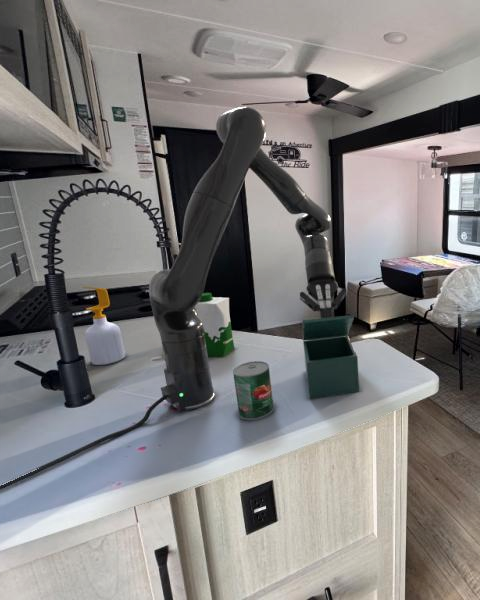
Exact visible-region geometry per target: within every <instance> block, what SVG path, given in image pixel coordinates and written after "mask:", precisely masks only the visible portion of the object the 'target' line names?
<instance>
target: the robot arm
mask: <svg viewBox="0 0 480 600" xmlns="http://www.w3.org/2000/svg"><path fill="white" fill-rule="evenodd" d="M266 127H267V126H266V122H265V120H264V118H263V116H262V114H261V113H260V112H259V111H258V110H257V109H255V108H253V107H249V106H242V107H241V106H240V107H237V108H233V109H231V110H228V111H225V112H223V113H222V114H220V115H219V116H218V118H217V120H216V123H215V129H216V134H217V136H218V138H219V140H220V142H221V143H222V144H223V145H222V148H221V149H220V152H219V154H218V156H217V158H216V159H215V161H214V162H213V163H212V164H211V165H210V167H208V169H207V170H206V172H205V173H204V174H203V175H202V177H201V178H200V180H199V181H198V182H197V184H196V186H195V188H194V190H193V192H192V194H191V197H190V199H189V201H188V203H187V206H186V209H185V213H184V217H183V225H182V226H183V227H182V238H181V244H180V248H179V251H178V253H177V256H176V257H175V260H174V262H173V264H172V266H171V268H168V269H167V268H166V269H163V270H160V271H158V272H157V273H155V274H154V275H153V276H152V277H151V279H150V280H149V281H150V282H149V284H148V294H149V300H150V306H151V310H152V314H153V319H154V323H155V326H156V329H157V331H158V333H159V336H160V341H161V346H162V352H163V357H164V362H165V368H164V369H163V373H164V378H165V379H164V380H165V384H166V385H165V386H161V387H160V391H161V397H160V398H159V399H157V400H156V401H154V403H153V404H151V406H150V407H149V408H148V409H147V411H146V412H145V414H144V416H143V418H142V419H141V420H139V421H138V422H137V423H135V424H133V425H131V426H129V427H127V428H124V429H121V430H119V431H115V432H113V433H110V434H107V435H105V436H103V437H101V438H99V439H97V440H94V441H91V442H90V443H88V444H85V445H83V446H82V447H79V448H78V449H75V450H72V451H71V452H68V453H67V454H65V455H63V456H60V457H58V458H56V459H54V460H51V461H48V462H47V463H45V464H43V465H41V466H38V467H36V468H35V469H37V470H35V471H33V472H30V473H28V474H26V475H24V476H21V475H20V476H21V477H19V478H17V479H15V480H13V481H10V482H8V483H6V484H4V485H1V486H0V491H2V490H4V489H5V488H7V487H11V486H12V485H15V484H17V483H18V482H21V481H23V480H25V479H28V478H29V477H32V476H35V475H36V474H39V473H40V472H42V471H46V470H47V469H50V468H52V467H53V466H56V465H58V464H60V463H62V462H64V461H66V460H68V459H70V458H72V457H74V456H77V455H78V454H81V453H83V452H85V451H87V450H89V449H91V448H93V447H96V446H98V445H100V444H102V443H104V442H106V441H109V440H111V439H114V438H116V437H120V436H121V435H124V434H127V433H129V432H131V431H133V430H135V429H137V428H139V427H141V426H142V425H143V424H145V423H146V422H147V421H148V419H149V417H150V415H151V413H152V412H153V411H154V409H156V408H157V407H158V406H159V405H160V404H161V403H163V402H164V401H166V402H168V403H169V404H170V406H172V407H173V408H174V409H175V410H177V411H178V412H181V413H182V412H184V411H190V410H195V409H200V408H201V407H204V406H206V405H208V404H209V403H211V402H212V401H214V399H215V392H214V386H213V381H212V373H211V368H210V361H209V356H208V354H207V348H206V342H205V335H204V329H203V324H202V322H201V320H200V319H199V317H198V314H197V312H196V309H195V306H196V305H197V304H198V302H199V300H200V299H201V296H202V293H204V291H205V287H206V282H207V278H208V275H209V273H210V272H209V271H210V269H211V264H212V261H213V258H214V256H215V254H216V251H217V249H218V247H219V244H220V242H221V240H222V237H223V235H224V232H225V230H226V228H227V225H228V223H229V220H230V218H231V216H232V213H233V212H234V211H233V210H234V208H235V205H236V202H237V200H238V197H239V194H240V193H241V189H242V187H243V184H244V182H245V178H246V177H247V173H248V171H249V169H250V170H251V171H252V172H253V173H254V174H255V175H256V177H258V178H259V179H260V180H261V181H262V182H263V183H264V185H265V186H266V187H267V188H268V189H269V190H270V192H272V194H273V195H274V196H275V198H277V200H278V201H279V202H280V204H281V205H282V206H283V208H284V209H285V210H286V211H287V212H288V213H289V214H291V215H300V214H303V215H301V216H299V217H298V218H297V219H296V221H295V224H294V225H295V226H294V227H295V230H296V232H297V235H298V236H299V238H300V240H301V243H302V245H303V251H304V265H305V274H306V281H307V286H306V290H304V291H300V292H299V300H300V301H301V302H302V303H303V304H305V305H306V306H307V307H308V308H309V309H311V310H312V311H313V312H319V315H320V318H330V317H333V312H332V311H333V310H337V309H338V308H339V306H340V305H341V303H342V301H343V300H344V298H346V295H347V288H346V287H345V288H344V287H343V288H342V287H339V285H338V282H337V281H336V277H335V271H334V265H333V259H332V256H331V252H330V247H329V241H328V239H327V237H326V236H325V235H323V233H325V232H327V231H328V230H330V228H331V226H332V221H331V217H330V215H329V213H328V212H327V211H326V209H325V210H324V209H323V207H321V206H320V205H319V204H317V203H316V202H315V201H314V200H312V199H311V198H310V197H309V196H308V195H307V194H306V193H305V191H304V190H303V189H302V187H301V186H300V184H299V183H298V182H297V181H296V180H295V178H294V177H293V176H291V174H290V173H288V172H287V170H285V169H284V168H283V167H281V166H280V165H279V164H278V163H276V162H275V161H274V160H273V159H272V158H270V156H268V155H267V154H266V152H265V151H264V150H263V149H262V148H261V147H262V145H263V143H264V141H265V138H266V133H267V132H266V131H267V129H266ZM335 295H336V297H335V298H334V296H335ZM333 298H334V300H333V301H332V299H333ZM313 299H314V300H315V301H314V300H313ZM324 301H325V302H324ZM38 468H39V469H38Z"/></svg>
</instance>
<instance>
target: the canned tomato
mask: <svg viewBox="0 0 480 600" xmlns="http://www.w3.org/2000/svg"><path fill="white" fill-rule="evenodd" d="M232 374H233V380H234V387H235V396H236V401H237V409H238V416H239V418H241V419H243V420H246V421H255V420H256V421H257V420H260V419H263V418H265V417H267V416H269V415H271V414H272V412H273V411H274V409H275V408H274V400H273V391H272V383H271V373H270V365H269V363H268V362H265V361H259V360H254V361H253V360H252V361H248V362H243V363H241V364H238V365H237V366H235V367H234V368H233V370H232Z"/></svg>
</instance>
